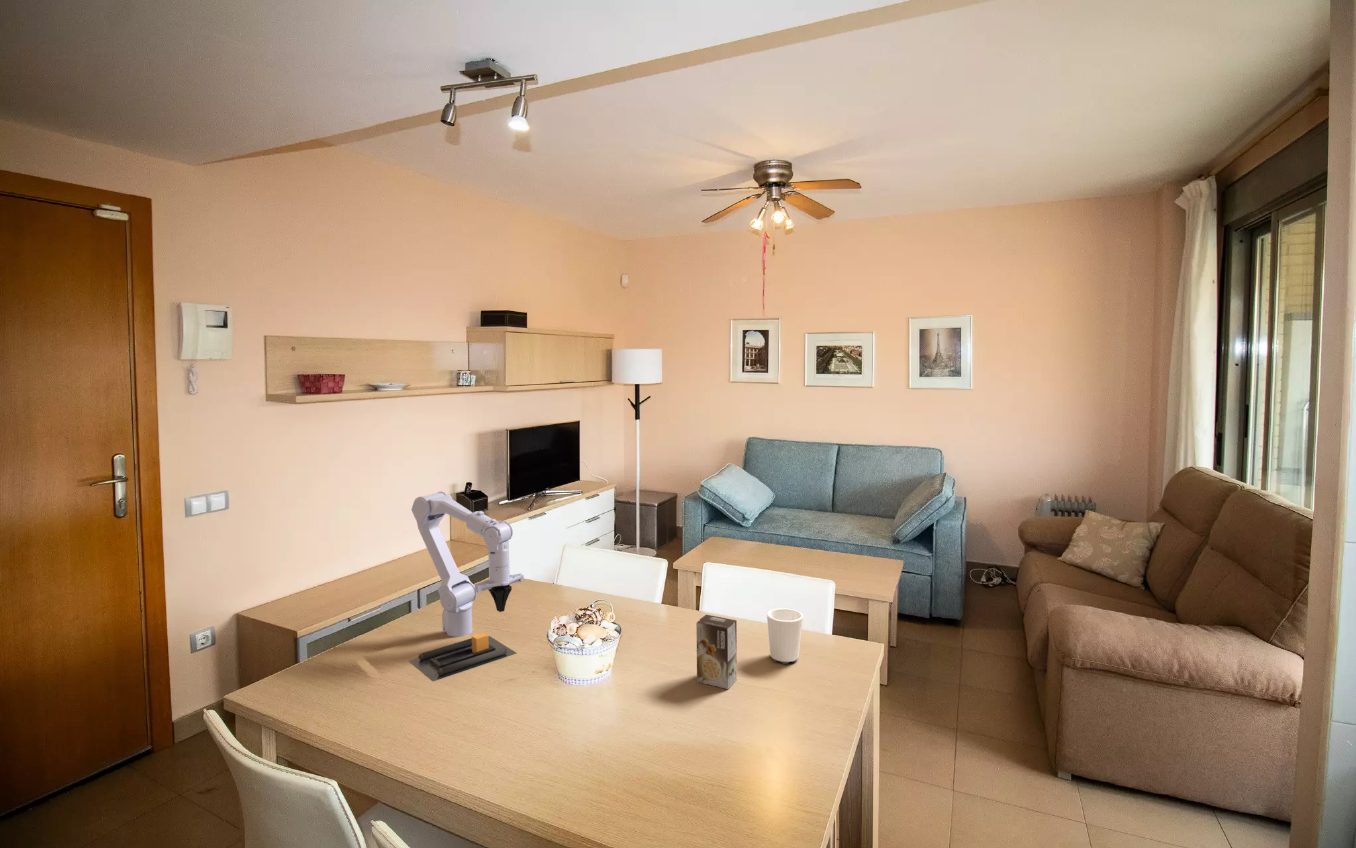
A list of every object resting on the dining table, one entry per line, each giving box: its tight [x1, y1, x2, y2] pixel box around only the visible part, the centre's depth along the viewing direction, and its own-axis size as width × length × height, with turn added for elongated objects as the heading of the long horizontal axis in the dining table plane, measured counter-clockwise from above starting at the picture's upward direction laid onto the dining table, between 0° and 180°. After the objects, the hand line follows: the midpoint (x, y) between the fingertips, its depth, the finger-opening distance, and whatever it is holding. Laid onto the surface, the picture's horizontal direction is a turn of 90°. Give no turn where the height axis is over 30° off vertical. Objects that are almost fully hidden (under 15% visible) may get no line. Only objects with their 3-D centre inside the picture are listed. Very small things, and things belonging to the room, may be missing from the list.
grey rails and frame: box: [418, 637, 507, 675], centre depth 186 cm, size 14×20×2 cm
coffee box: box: [695, 614, 738, 690], centre depth 174 cm, size 9×6×16 cm
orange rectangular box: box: [471, 632, 489, 653], centre depth 189 cm, size 3×4×4 cm
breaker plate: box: [408, 635, 518, 682], centre depth 186 cm, size 16×24×2 cm, turn 133°
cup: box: [766, 607, 804, 665], centre depth 187 cm, size 10×10×13 cm
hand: (500, 610), depth 196 cm, fingers closed
